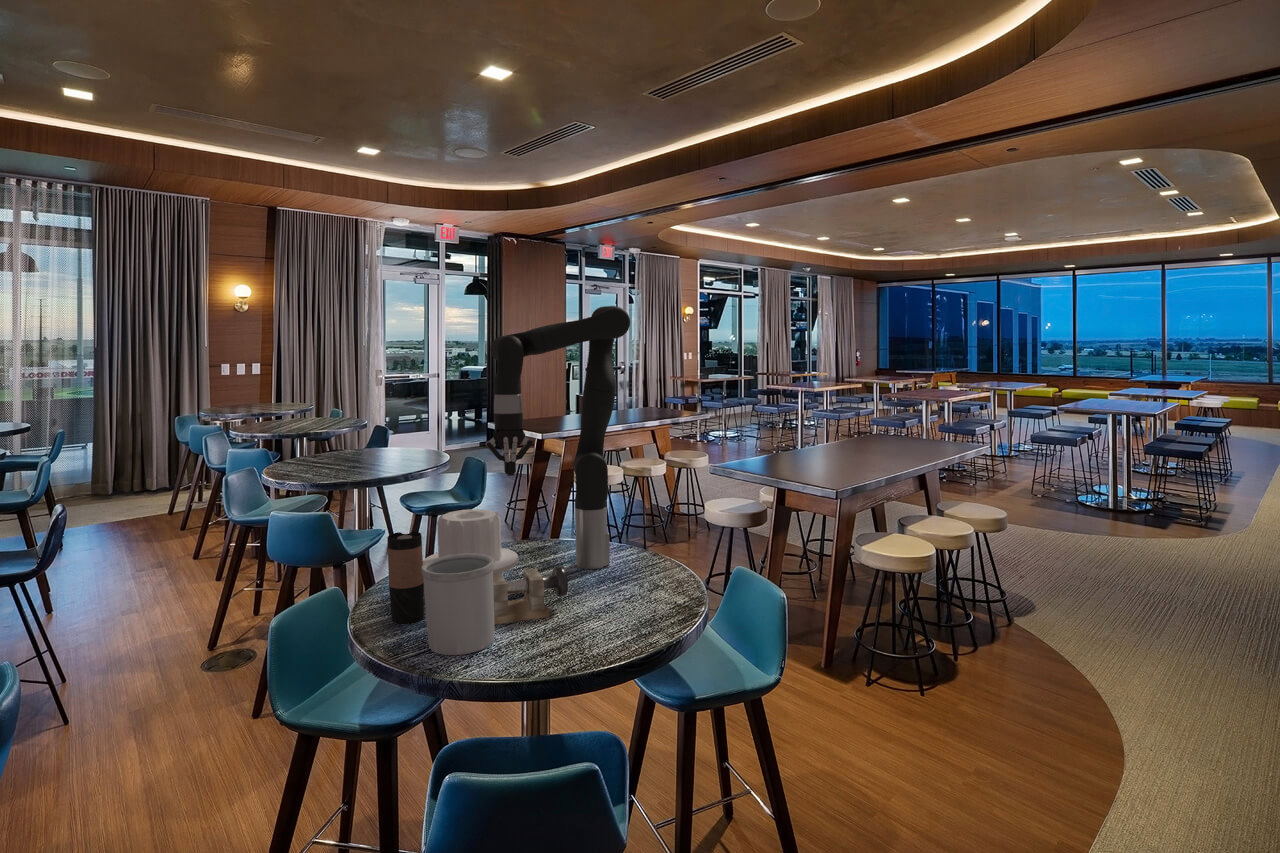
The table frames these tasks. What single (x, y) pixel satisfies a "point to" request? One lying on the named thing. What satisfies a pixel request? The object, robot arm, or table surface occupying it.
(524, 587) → the shaft
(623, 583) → the table surface
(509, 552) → the ribbed cylinder on disc
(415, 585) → the travel mug
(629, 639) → the table surface
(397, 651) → the table surface
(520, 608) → the block
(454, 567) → the utensil holder
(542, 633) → the table surface
